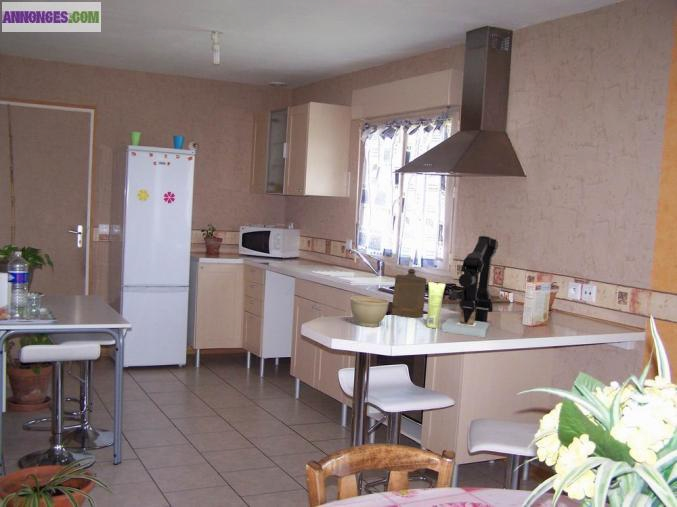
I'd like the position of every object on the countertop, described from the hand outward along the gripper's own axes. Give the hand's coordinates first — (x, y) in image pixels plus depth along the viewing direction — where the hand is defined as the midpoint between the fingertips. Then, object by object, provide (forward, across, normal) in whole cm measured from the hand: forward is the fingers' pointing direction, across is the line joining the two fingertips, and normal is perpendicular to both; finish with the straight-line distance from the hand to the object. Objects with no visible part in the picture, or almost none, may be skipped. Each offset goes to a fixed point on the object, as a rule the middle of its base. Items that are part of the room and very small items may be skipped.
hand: (467, 321), depth 307 cm
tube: (+4, +4, -14) cm, 15 cm away
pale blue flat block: (+4, 0, 0) cm, 4 cm away
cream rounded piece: (+4, 0, 0) cm, 4 cm away
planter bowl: (+4, +21, -39) cm, 45 cm away
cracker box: (+4, -43, +28) cm, 51 cm away
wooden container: (+4, -21, -30) cm, 37 cm away
